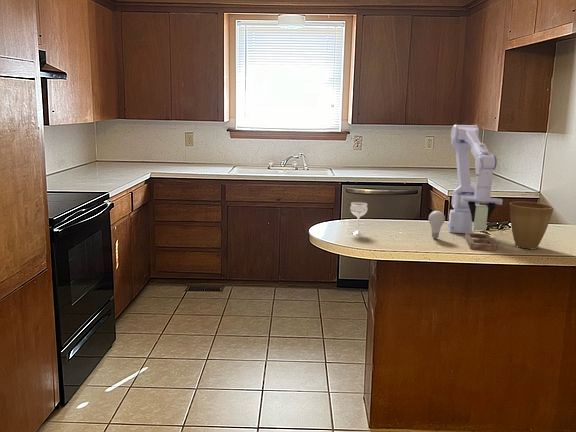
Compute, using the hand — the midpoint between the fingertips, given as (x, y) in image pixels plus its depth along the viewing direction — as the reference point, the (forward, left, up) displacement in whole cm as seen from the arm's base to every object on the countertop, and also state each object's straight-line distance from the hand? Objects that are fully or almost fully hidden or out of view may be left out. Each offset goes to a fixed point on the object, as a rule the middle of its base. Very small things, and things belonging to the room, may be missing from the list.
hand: (479, 221), depth 211 cm
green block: (0, 0, -3) cm, 3 cm away
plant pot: (+17, -3, -8) cm, 19 cm away
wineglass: (-46, -1, -8) cm, 47 cm away
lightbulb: (-16, -1, -8) cm, 18 cm away
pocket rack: (0, -4, -8) cm, 9 cm away
